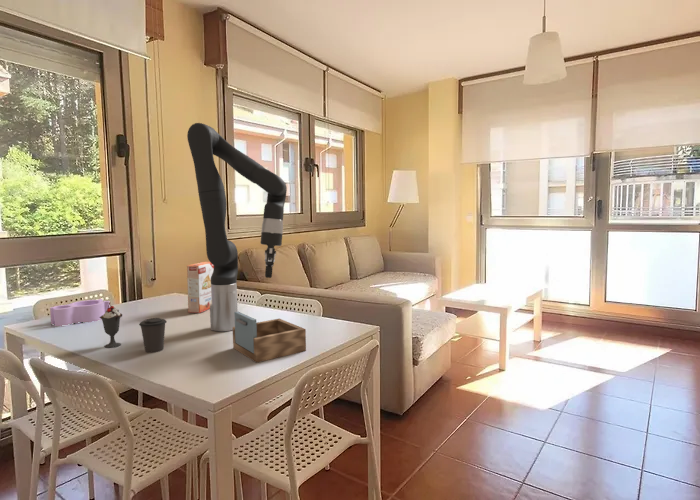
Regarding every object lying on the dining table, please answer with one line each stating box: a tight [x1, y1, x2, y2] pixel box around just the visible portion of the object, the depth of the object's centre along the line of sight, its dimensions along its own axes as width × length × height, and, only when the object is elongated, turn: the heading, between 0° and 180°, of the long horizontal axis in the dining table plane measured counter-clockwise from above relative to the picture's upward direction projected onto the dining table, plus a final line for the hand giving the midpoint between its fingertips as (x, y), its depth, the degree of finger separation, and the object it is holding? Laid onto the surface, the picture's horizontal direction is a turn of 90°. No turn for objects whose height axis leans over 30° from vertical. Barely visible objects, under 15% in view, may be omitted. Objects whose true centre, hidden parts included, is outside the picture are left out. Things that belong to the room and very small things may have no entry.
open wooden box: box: [232, 318, 307, 363], centre depth 140 cm, size 17×17×7 cm
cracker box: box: [186, 261, 214, 314], centre depth 195 cm, size 14×6×21 cm, turn 168°
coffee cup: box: [138, 317, 167, 354], centre depth 140 cm, size 8×8×10 cm
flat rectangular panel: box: [234, 311, 257, 353], centre depth 135 cm, size 2×13×10 cm, turn 38°
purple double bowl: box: [49, 298, 111, 327], centre depth 178 cm, size 20×12×7 cm, turn 143°
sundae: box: [99, 302, 123, 349], centre depth 145 cm, size 7×7×15 cm
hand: (268, 277), depth 157 cm, fingers open, 8 cm apart
